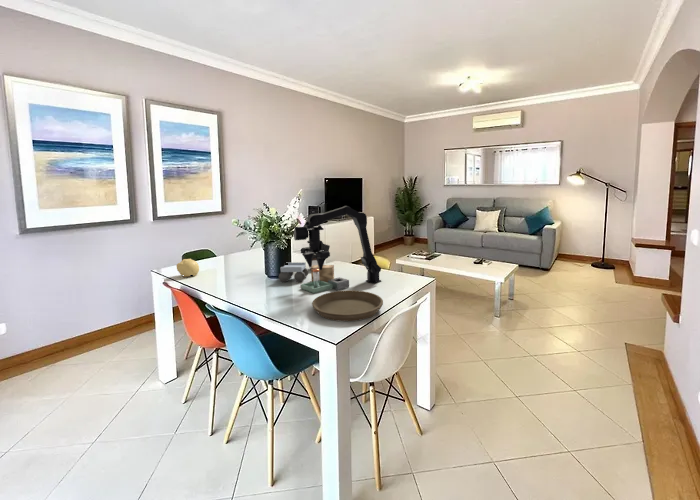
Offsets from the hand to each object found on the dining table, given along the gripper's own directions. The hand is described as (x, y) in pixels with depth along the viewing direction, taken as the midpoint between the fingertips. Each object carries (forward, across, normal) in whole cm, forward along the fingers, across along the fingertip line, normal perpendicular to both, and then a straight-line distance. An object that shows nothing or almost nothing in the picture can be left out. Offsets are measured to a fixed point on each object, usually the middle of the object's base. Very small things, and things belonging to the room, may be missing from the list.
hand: (315, 268), depth 193 cm
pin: (+10, 0, 0) cm, 11 cm away
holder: (+11, -6, -10) cm, 16 cm away
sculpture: (+12, +80, +40) cm, 90 cm away
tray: (+11, 0, 0) cm, 11 cm away
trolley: (+11, +25, -2) cm, 27 cm away
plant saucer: (+12, -36, +9) cm, 39 cm away
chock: (+11, +9, -11) cm, 18 cm away
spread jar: (+11, +35, -25) cm, 45 cm away
